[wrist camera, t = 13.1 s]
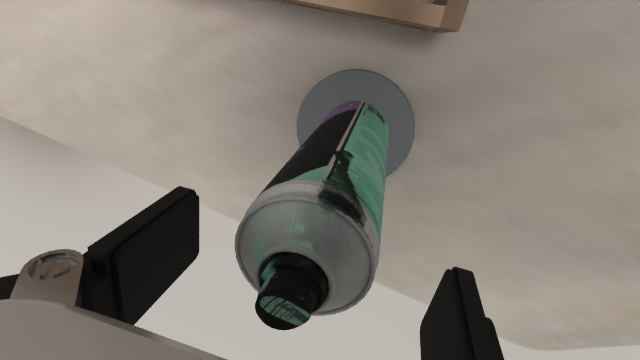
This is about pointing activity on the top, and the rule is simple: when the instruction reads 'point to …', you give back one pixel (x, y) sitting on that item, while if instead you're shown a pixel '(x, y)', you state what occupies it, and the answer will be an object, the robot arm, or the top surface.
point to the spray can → (319, 221)
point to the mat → (367, 89)
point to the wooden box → (398, 11)
